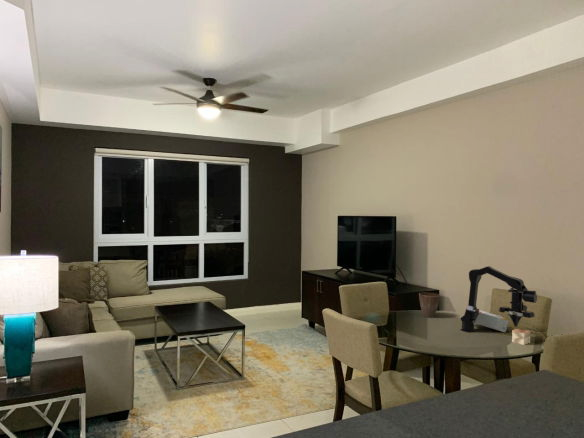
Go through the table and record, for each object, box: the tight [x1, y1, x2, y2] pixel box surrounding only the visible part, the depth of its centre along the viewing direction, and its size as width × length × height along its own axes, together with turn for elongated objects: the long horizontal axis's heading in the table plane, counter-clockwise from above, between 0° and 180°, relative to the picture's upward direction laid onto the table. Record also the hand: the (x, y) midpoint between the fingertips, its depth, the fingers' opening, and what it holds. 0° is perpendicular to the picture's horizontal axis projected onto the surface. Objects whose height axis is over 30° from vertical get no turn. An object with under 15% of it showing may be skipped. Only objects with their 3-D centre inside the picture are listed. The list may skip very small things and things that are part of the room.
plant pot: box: [418, 292, 441, 319], centre depth 323 cm, size 15×15×16 cm
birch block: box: [511, 328, 532, 346], centre depth 263 cm, size 7×7×7 cm
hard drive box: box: [473, 309, 509, 333], centre depth 293 cm, size 16×8×20 cm
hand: (515, 326), depth 266 cm, fingers closed
